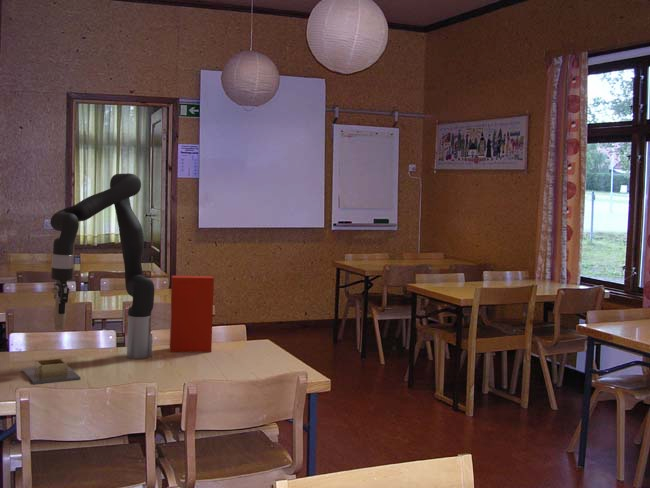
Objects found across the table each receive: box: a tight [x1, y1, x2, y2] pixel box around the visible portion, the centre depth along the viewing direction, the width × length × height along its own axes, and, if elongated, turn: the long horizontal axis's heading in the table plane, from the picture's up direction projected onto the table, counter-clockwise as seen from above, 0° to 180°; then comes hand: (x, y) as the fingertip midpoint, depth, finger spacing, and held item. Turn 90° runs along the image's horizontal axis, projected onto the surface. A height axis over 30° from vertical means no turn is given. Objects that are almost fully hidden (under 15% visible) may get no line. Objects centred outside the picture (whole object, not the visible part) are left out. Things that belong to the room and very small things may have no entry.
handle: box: [51, 287, 71, 331], centre depth 271 cm, size 5×6×15 cm
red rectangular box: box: [169, 275, 215, 353], centre depth 316 cm, size 8×17×32 cm, turn 104°
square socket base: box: [21, 357, 81, 385], centre depth 268 cm, size 16×20×5 cm
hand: (60, 312), depth 271 cm, fingers closed on handle, 4 cm apart
